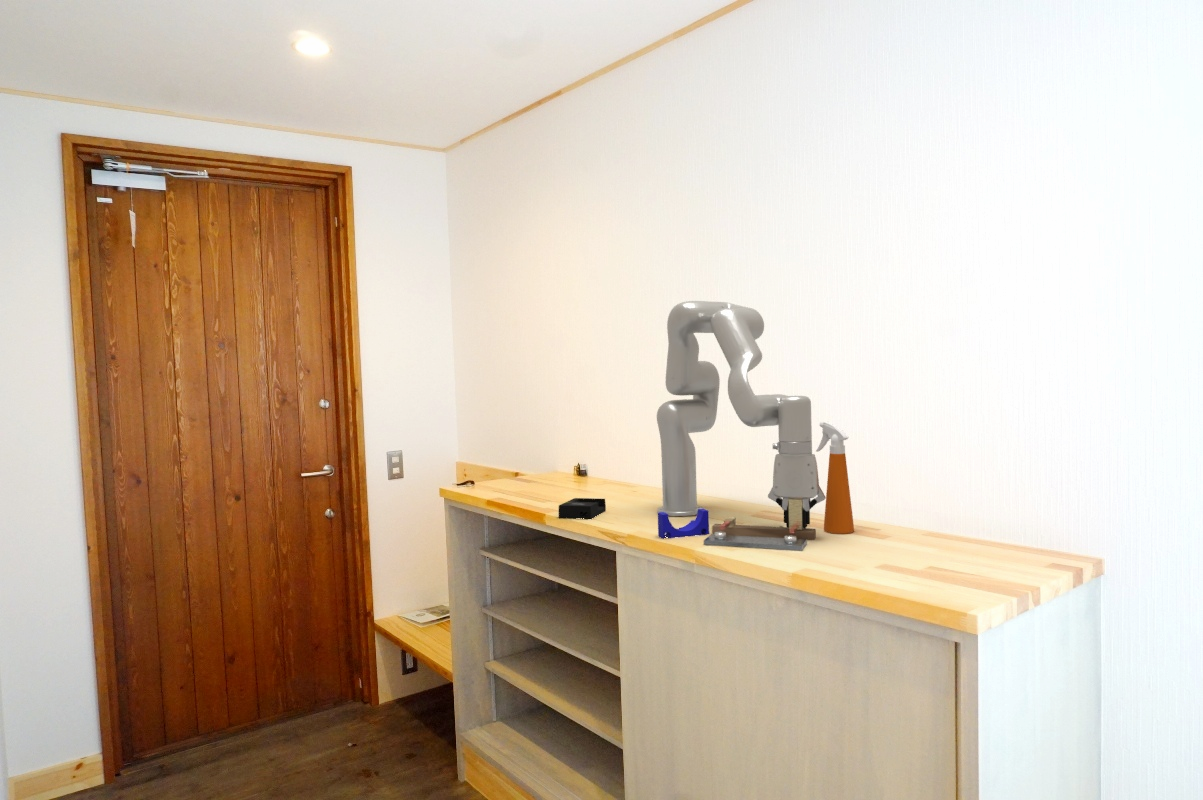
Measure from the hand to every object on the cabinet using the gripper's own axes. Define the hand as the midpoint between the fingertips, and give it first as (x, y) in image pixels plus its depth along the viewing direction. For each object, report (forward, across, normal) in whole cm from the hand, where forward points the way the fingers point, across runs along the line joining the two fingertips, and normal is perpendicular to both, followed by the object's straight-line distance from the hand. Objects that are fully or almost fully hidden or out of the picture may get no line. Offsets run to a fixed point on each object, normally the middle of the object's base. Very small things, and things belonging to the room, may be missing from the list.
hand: (796, 526), depth 183 cm
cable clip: (+3, -27, -4) cm, 27 cm away
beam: (+3, -8, -3) cm, 9 cm away
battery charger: (+3, -62, +15) cm, 64 cm away
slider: (0, 0, -3) cm, 3 cm away
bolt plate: (+3, -8, -10) cm, 13 cm away
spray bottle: (+3, +7, +11) cm, 13 cm away
